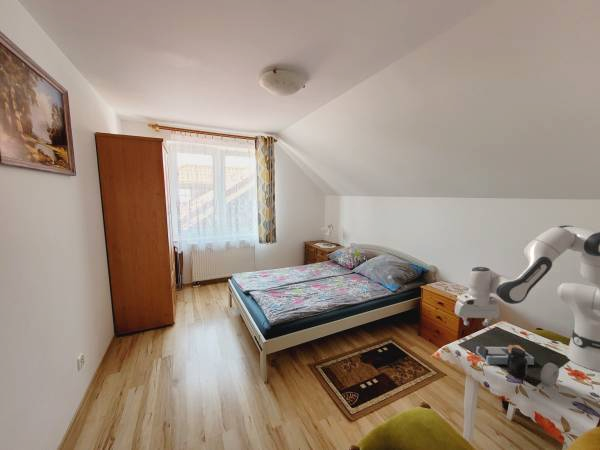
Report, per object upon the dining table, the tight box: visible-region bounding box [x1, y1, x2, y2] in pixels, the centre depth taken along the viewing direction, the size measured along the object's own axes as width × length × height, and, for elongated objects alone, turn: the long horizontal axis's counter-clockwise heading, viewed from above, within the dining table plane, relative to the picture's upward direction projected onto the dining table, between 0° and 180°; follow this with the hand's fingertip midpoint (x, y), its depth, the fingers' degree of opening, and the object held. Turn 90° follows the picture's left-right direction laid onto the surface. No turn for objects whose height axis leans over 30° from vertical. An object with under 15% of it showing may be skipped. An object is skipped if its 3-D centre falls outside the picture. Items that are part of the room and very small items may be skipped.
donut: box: [540, 362, 560, 387], centre depth 104 cm, size 10×4×10 cm, turn 114°
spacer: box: [508, 344, 526, 354], centre depth 121 cm, size 4×4×5 cm
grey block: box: [478, 344, 506, 359], centre depth 122 cm, size 10×4×5 cm, turn 87°
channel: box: [475, 346, 535, 366], centre depth 122 cm, size 22×9×4 cm, turn 87°
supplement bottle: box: [506, 347, 528, 380], centre depth 110 cm, size 7×7×12 cm
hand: (475, 325), depth 120 cm, fingers open, 8 cm apart
